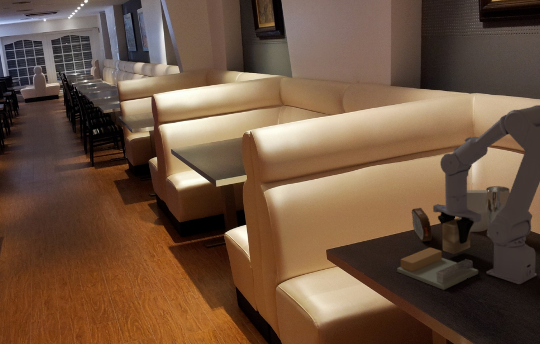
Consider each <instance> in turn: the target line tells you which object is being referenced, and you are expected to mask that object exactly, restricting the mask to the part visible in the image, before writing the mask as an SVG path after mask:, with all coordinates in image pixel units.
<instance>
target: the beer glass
mask: <svg viewBox="0 0 540 344" xmlns="http://www.w3.org/2000/svg"><path fill="white" fill-rule="evenodd" d="M485 190H486V198H485V207H486V214H487V219H488V226H489V224H490V223H491V222H492V221H494V219H495V217H496V215H497V214H498V213H499V212H500V211H501V210H502V209H503V208H504V207H505V205H506V202H507V199H508V197H509V194H510V191H511V189H510V188H509V187H506V186H501V185H496V186H488V187H486V188H485ZM486 237H487V238H489V239H491V238H490V237H489V234H488V229H486Z"/></svg>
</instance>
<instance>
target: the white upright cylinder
mask: <svg viewBox="0 0 540 344" xmlns="http://www.w3.org/2000/svg"><path fill="white" fill-rule="evenodd" d="M485 198H486V189H481V190H480V189H471V190H470V189H467V207H468V209H469V210H471V211H473V212H475V213H478V214H481V221H479V222H477V223H476V222H474V224H473V225H472V227H471V229H470V233H472V232H473V233H476V232H477V233H478V232H479V233H480V232H483V231H487V229H488V219H487V214H486V207H485ZM458 218H460V217H458ZM461 219H462V218H461Z"/></svg>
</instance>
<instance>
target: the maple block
mask: <svg viewBox="0 0 540 344" xmlns="http://www.w3.org/2000/svg"><path fill="white" fill-rule="evenodd" d="M460 219H461V218H459V217H456V218H455V219H454V220H451V221H449V222H446V223H443V224H441V226H442V230H441V231H442V232H441V233H442V252H443V251H444V252H447V253H450V254H453V255H456V254H458V253H460V252H462V251H465V250H468V249H469V248H471V231H469V234H468V237H467V242H465V243H463V244H461V243H460V240H459V229H458V225H457V222H456V221H457V220H460Z"/></svg>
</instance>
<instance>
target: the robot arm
mask: <svg viewBox="0 0 540 344" xmlns="http://www.w3.org/2000/svg"><path fill="white" fill-rule="evenodd" d="M507 135H509V136H511V138H512V139H513V140H514V141H515V142H516V143H517V144H518V145H519V146H520V147H521V148H522V149H523V150H524V153H523V155H522V156H523V157H522V159H521V162H520V164H519V168H518V170H517V172H516V175H515V178H514V181H513V184H512V186H511V189H510V190H509V191H510V194H509V197H508V199H507V202H506V205H505V207H504V208H503V209H502V210H501V211H500V212H499V213H498V214H497V215H496V217H495V219H494V221H492V222H491V223H490V224H489V226H488V234H489V237H490V238H489V237H488V238H489V239H490V240H491V241H492V243H493V268H491V269H489V270H486V274H487V275H489V276H493V277H496V278H498V279H502V280H504V281H508V282H510V283H514V284H516V285H521V284H523V283H526V281H529V280H530V279H532V278H535V277H536V276H537V275H538V274H537V273H536V257H537V256H536V255H537V254H536V251H535V248H533V247H531V246H529V245H528V244H526V241H527V239H526V237H527V236H528V235H529V234H530V233H531V230H532V224H531V223H532V218H533V214H532V213H531V212H530V211H529V210H530V208H531V206H532V203H533V200H534V197H535V195H536V193H537V191H538V187H539V185H540V104H538V105H537V104H536V105H533V106H531V107H525V108H521V109H512V110H510V111H509V112H508V113H507V114H504V115H502V116H501V117H500V118H499V120H498V121H496V122H495V123H494V124H493V125H492V126H491V127H489V128H488V129H487V130H486V131H485V132H484V133H482V135H480V136H479V137H478V136H470V137H467V138H465V139H464V143H463V144H461V145H460V146H457V147H455V148H454V149H453V152H452V153H444V154H443V156H442V157H441V159H440V168H441V170H442V172H444V179H445V181H444V182H445V184H444V188H445V197H444V199H445V204H439V203H438V204H434V205H433V207H432V209H433V210H432V211H433V213H440V215H438V216H437V220H438V221H439V222H440V224H441V225H442V224H443V223H446V222H449V221H451V220H454V219H456V218H459V217H460V218H462V219H460V220H457V221H456V222H457V225H458V229H459V240H460V243H461V244H463V243H465V242H467V237H468V234H469V231H470V229H471V227H472V225H473V224H474V222H476V223H477V222H479V221H481V214H478V213H475V212H473V211H471V210H469V209H468V207H467V190H468V177H469V172H470V169H471V168H472V165H473V164H475V163H476V162H478V161H479V160H481V159H482V158H483V157H484V156H486V155H487V153H488V148H489V147H491V146H492V145H493V144H495V143H497V142H498V141H499V140H501V139H502V138H504V137H506V136H507ZM470 232H471V231H470Z"/></svg>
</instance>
